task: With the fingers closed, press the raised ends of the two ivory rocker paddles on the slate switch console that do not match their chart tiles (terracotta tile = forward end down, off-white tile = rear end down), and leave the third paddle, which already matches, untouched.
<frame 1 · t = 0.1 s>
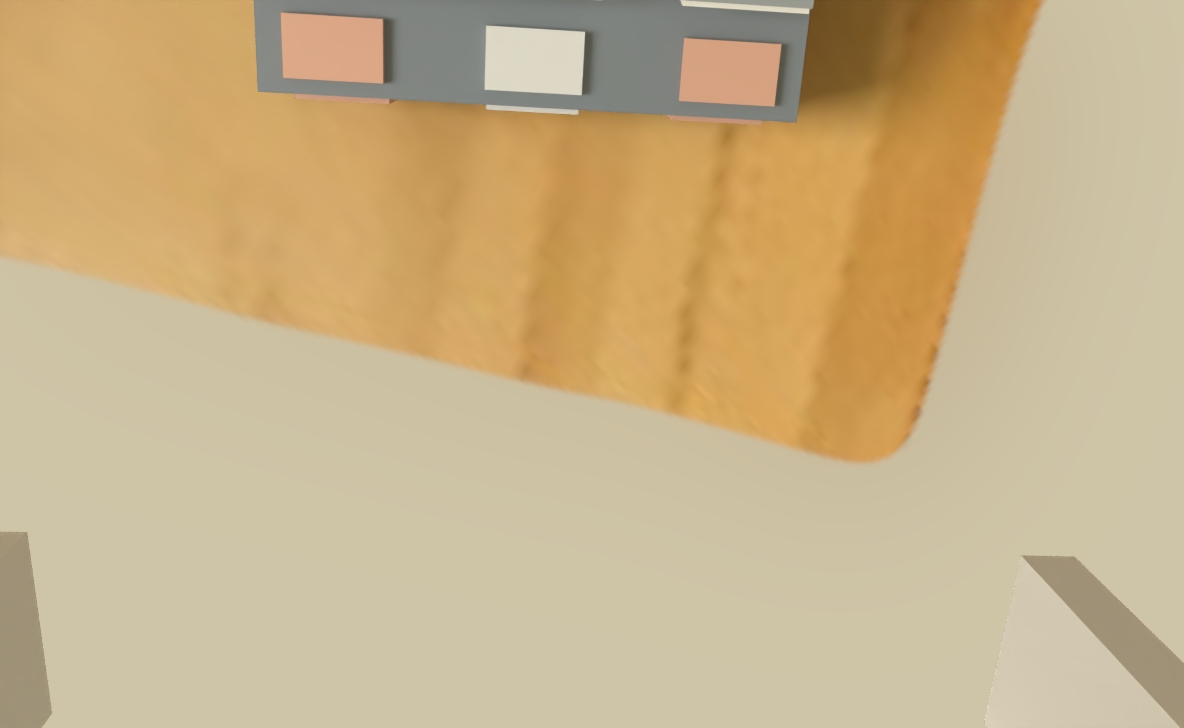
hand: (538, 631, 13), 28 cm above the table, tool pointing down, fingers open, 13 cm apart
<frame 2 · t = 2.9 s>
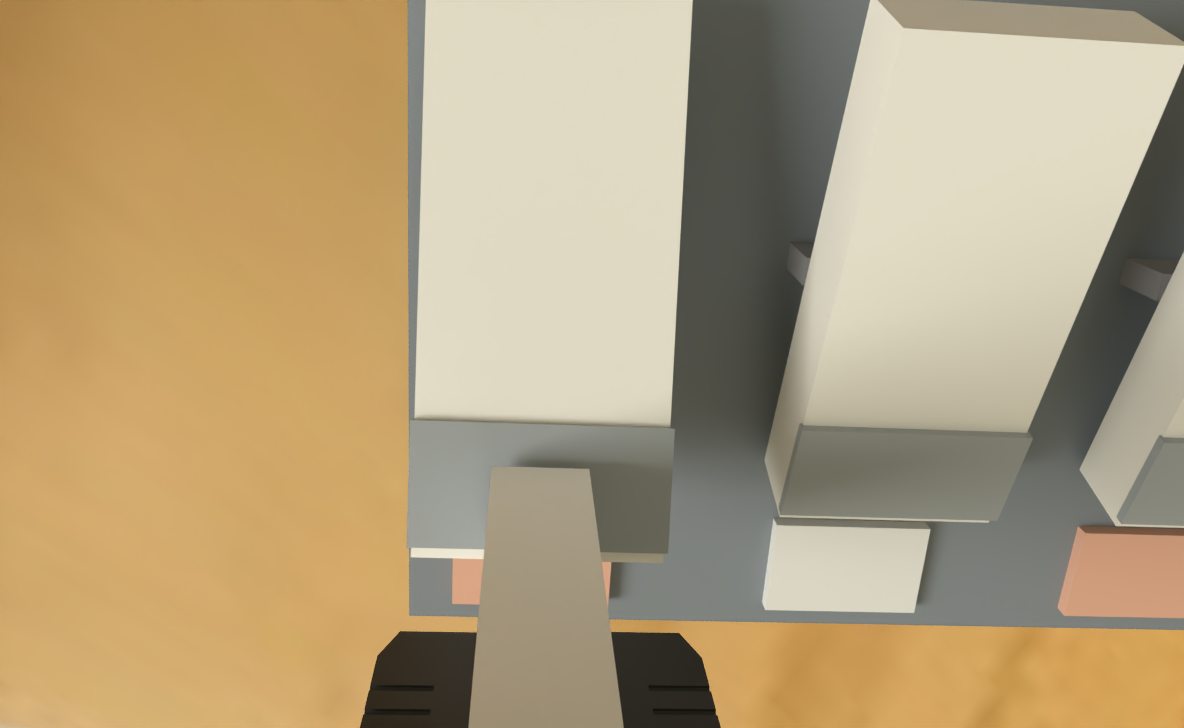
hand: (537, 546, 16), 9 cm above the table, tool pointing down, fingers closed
switch B: (939, 294, 17), point 7 cm above the table, hinge at 16.0°
switch A: (548, 275, 16), point 7 cm above the table, hinge at -14.0°, touching gripper
switch unit: (820, 208, 23), on the table
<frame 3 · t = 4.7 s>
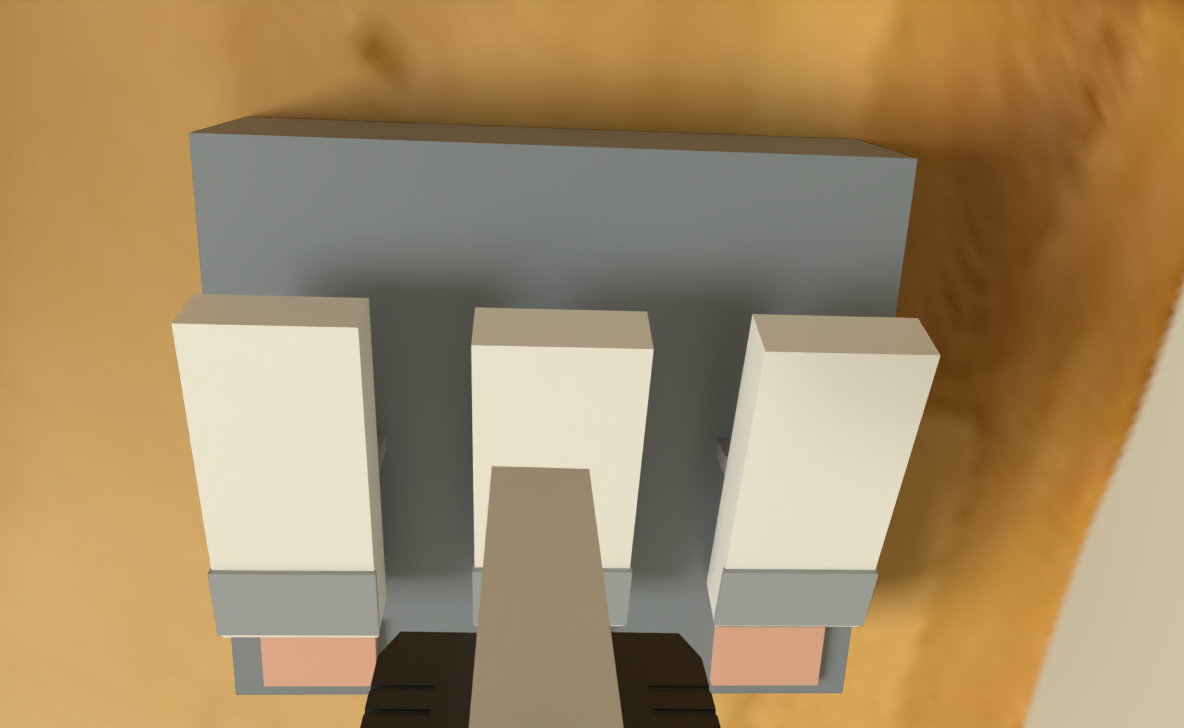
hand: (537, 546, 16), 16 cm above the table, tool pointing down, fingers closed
switch B: (555, 481, 25), point 7 cm above the table, hinge at 16.0°
switch A: (291, 477, 24), point 7 cm above the table, hinge at 9.5°
switch C: (810, 484, 25), point 7 cm above the table, hinge at 16.0°
switch unit: (549, 384, 32), on the table
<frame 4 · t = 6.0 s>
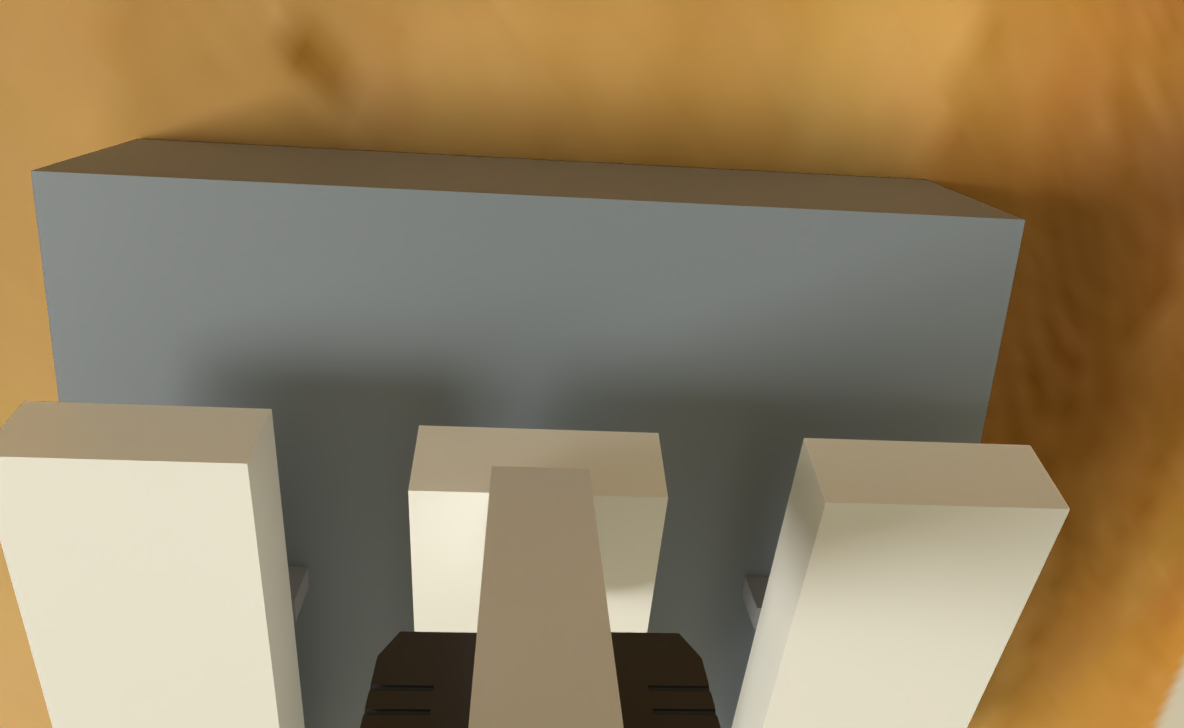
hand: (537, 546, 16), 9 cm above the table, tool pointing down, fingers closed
switch B: (529, 648, 18), point 7 cm above the table, hinge at 15.8°, touching gripper
switch A: (169, 642, 18), point 7 cm above the table, hinge at 10.2°
switch C: (870, 653, 19), point 7 cm above the table, hinge at 16.0°
switch unit: (529, 477, 25), on the table
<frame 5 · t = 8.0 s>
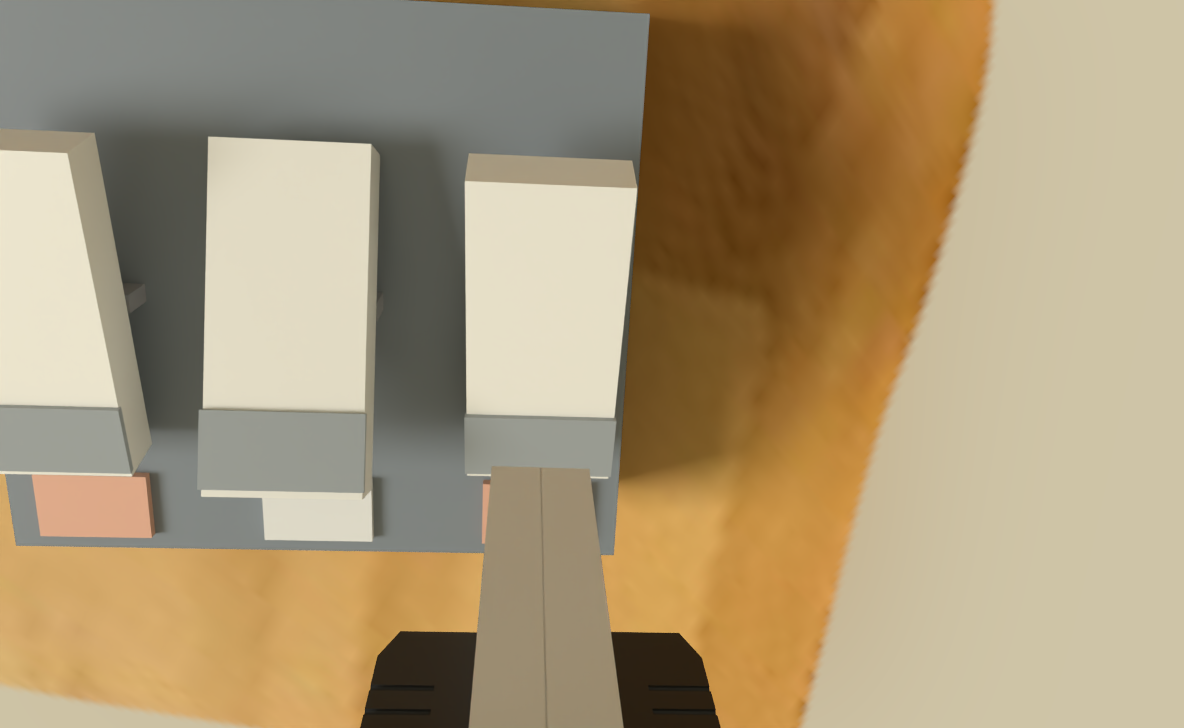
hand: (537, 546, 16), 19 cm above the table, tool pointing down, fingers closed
switch B: (292, 320, 26), point 7 cm above the table, hinge at -17.2°
switch A: (32, 313, 25), point 7 cm above the table, hinge at 10.3°
switch C: (544, 330, 26), point 7 cm above the table, hinge at 16.0°
switch unit: (342, 257, 33), on the table
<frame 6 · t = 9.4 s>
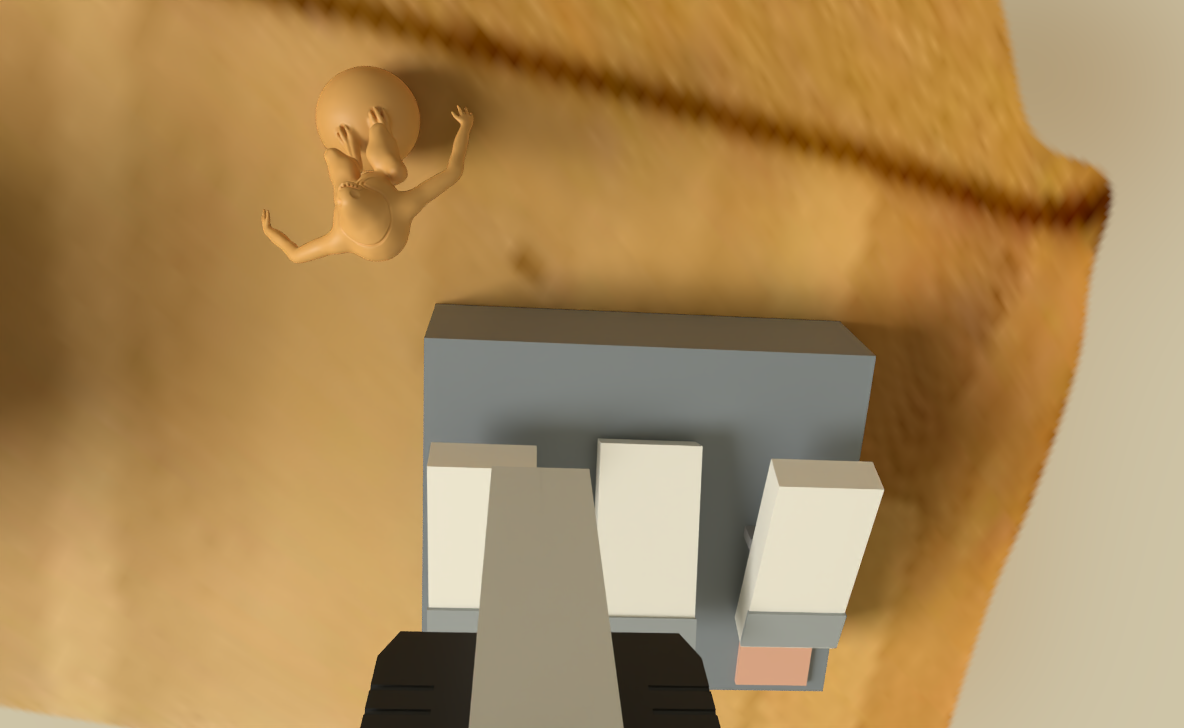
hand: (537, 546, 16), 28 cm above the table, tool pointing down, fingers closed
switch B: (644, 554, 40), point 7 cm above the table, hinge at -16.6°
switch A: (480, 551, 39), point 7 cm above the table, hinge at 10.3°
switch C: (804, 559, 40), point 7 cm above the table, hinge at 16.0°
figurine: (389, 137, 41), on the table
switch unit: (627, 477, 47), on the table
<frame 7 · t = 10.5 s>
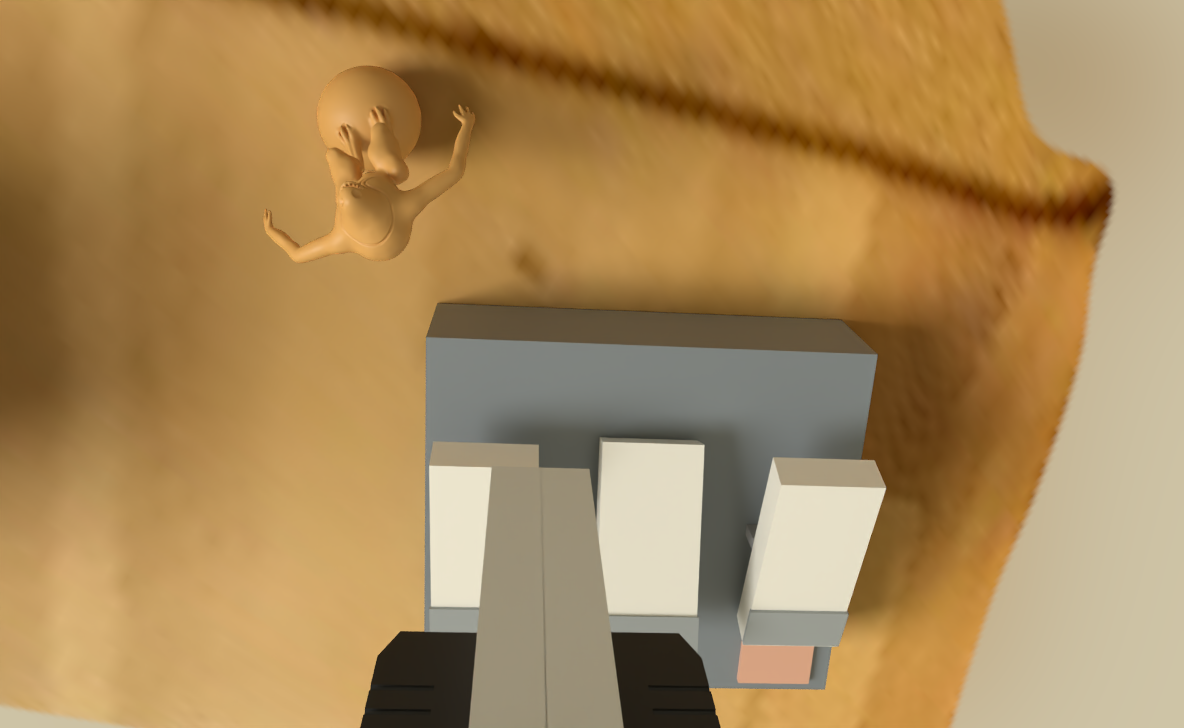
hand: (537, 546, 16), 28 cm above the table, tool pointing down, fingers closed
switch B: (646, 553, 40), point 7 cm above the table, hinge at -16.6°
switch A: (483, 550, 39), point 7 cm above the table, hinge at 10.3°
switch C: (806, 558, 40), point 7 cm above the table, hinge at 16.0°
figurine: (390, 136, 41), on the table
switch unit: (629, 475, 47), on the table
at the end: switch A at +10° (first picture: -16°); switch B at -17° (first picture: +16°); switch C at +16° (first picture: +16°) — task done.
